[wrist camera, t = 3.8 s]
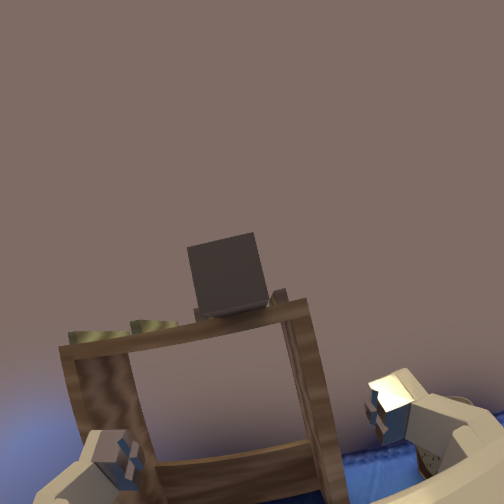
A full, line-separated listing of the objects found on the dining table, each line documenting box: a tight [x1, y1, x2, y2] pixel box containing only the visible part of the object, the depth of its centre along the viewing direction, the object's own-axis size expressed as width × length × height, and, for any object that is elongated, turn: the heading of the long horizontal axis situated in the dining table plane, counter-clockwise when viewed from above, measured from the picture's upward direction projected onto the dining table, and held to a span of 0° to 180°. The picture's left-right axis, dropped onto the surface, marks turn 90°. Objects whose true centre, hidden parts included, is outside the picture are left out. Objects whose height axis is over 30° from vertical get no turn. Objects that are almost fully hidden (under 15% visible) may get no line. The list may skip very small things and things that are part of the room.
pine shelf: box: [59, 288, 350, 504], centre depth 31 cm, size 14×24×27 cm, turn 89°
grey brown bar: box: [187, 232, 269, 318], centre depth 30 cm, size 24×4×4 cm, turn 179°
